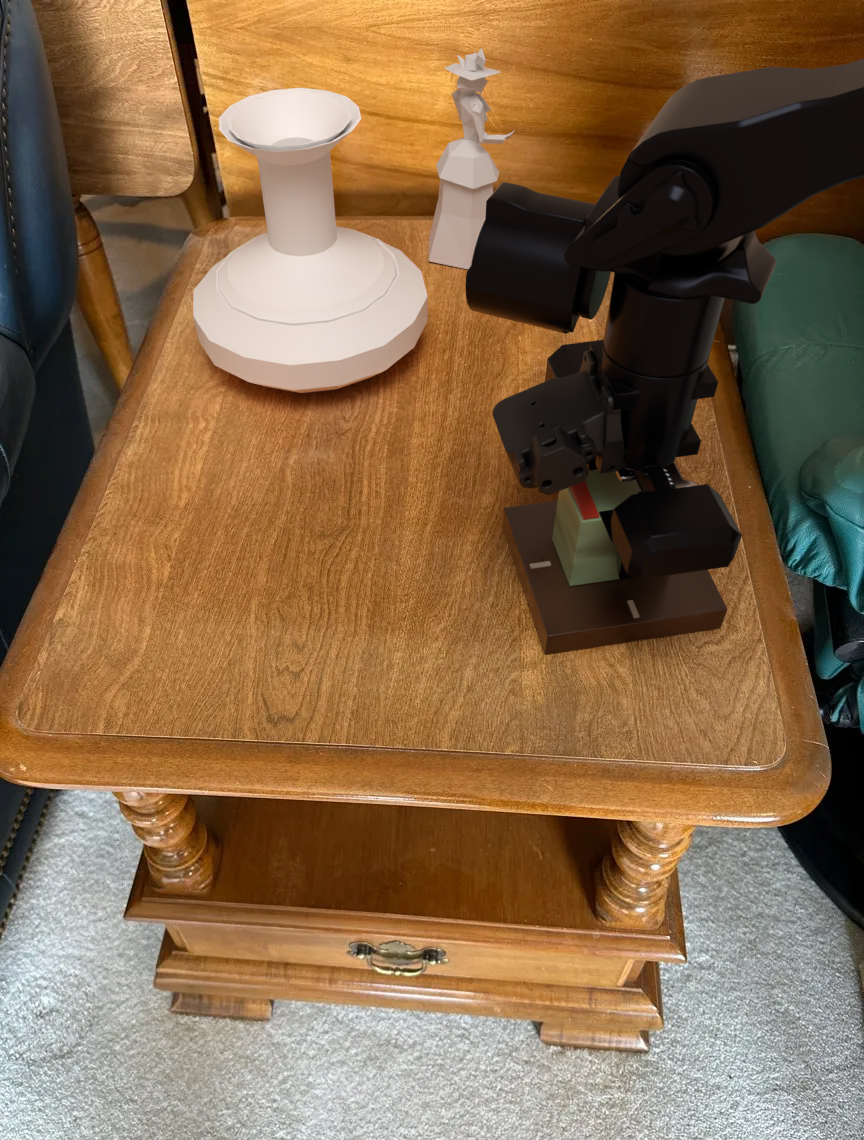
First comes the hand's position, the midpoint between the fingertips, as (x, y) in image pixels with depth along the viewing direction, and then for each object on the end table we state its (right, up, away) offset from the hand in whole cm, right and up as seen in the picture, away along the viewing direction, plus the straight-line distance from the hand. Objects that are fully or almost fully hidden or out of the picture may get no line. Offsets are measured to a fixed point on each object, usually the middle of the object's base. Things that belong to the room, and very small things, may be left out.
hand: (612, 545), depth 64 cm
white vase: (-21, +20, +20) cm, 35 cm away
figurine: (-8, +32, +30) cm, 44 cm away
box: (0, -1, +1) cm, 1 cm away
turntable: (0, -2, +2) cm, 3 cm away
